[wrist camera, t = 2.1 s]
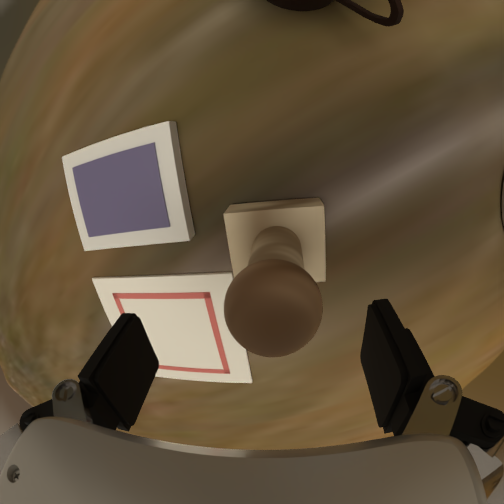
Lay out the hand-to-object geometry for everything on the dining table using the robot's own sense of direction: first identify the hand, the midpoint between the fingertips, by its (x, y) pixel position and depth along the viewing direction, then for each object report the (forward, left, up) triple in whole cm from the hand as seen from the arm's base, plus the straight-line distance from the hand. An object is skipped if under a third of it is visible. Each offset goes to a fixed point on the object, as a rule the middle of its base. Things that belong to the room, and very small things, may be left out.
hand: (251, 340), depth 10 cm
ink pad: (+11, -5, -12) cm, 17 cm away
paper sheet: (+11, +10, -12) cm, 19 cm away
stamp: (-1, 0, -12) cm, 12 cm away
